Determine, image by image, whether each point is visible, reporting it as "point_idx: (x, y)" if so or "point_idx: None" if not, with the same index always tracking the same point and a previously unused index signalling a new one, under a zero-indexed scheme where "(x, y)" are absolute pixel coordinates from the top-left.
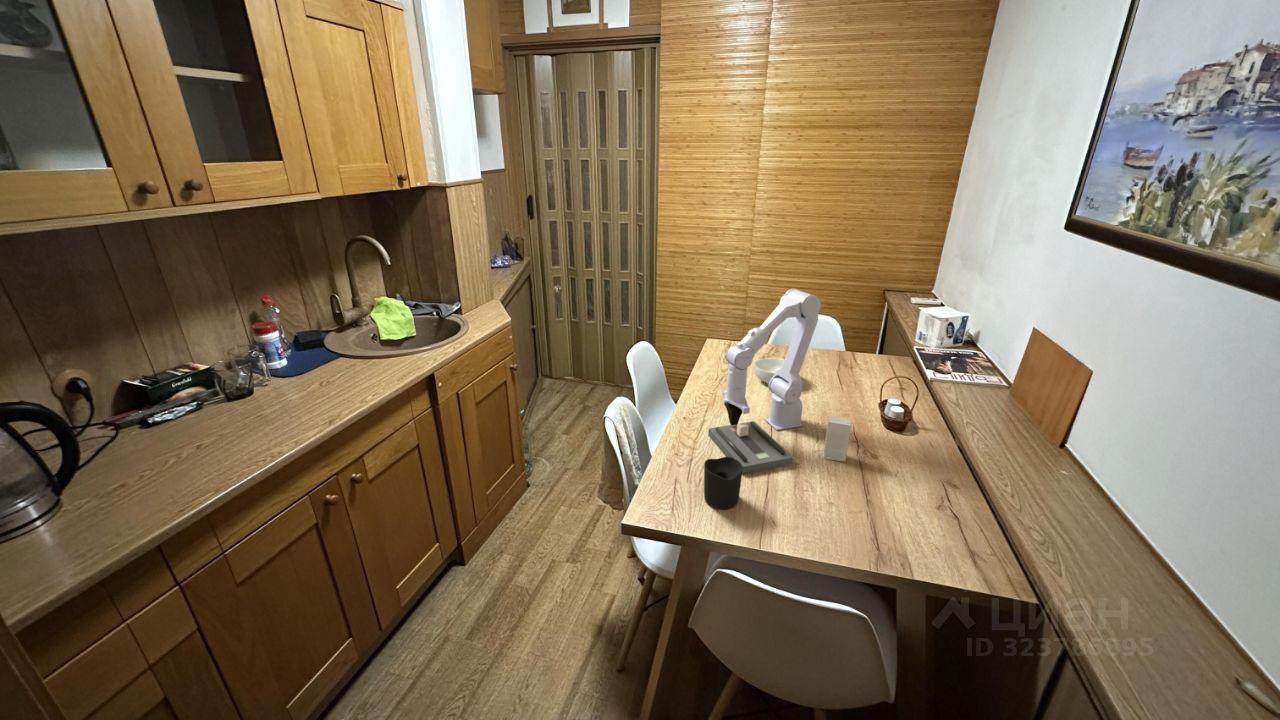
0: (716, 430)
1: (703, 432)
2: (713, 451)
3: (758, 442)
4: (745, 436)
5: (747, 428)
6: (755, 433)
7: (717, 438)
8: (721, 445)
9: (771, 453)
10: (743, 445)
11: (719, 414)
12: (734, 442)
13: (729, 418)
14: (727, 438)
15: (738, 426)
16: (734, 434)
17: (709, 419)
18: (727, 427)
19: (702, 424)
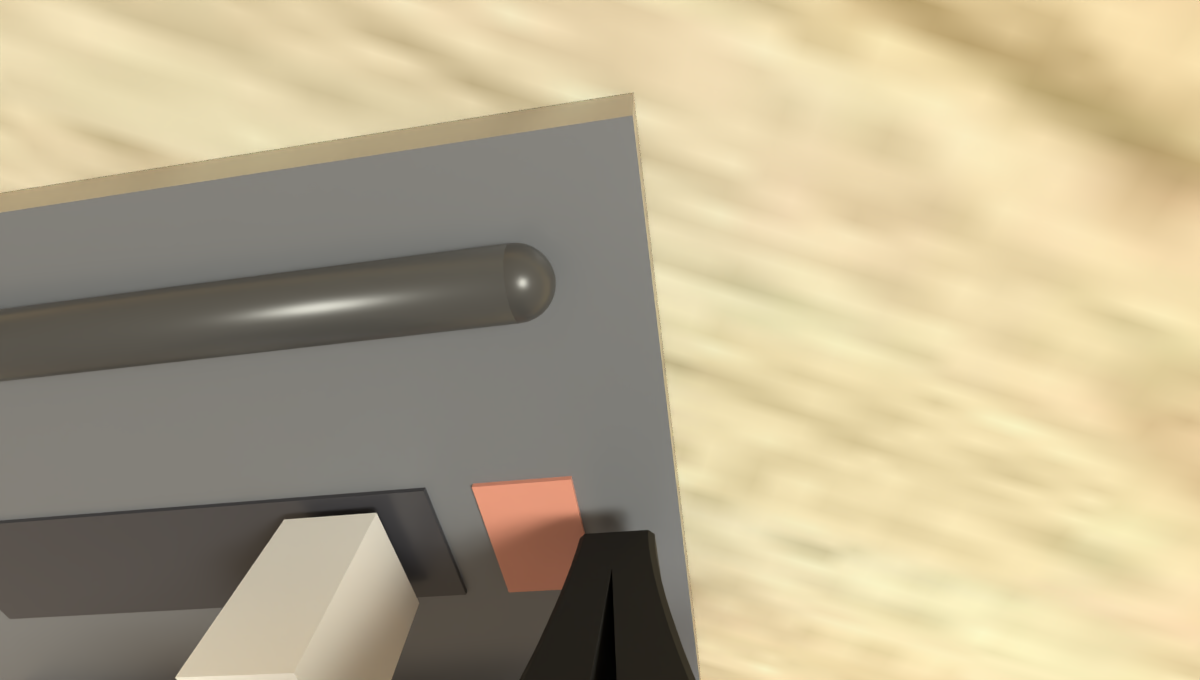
0: (468, 249)
1: (765, 28)
2: (110, 28)
3: None
4: None
5: None
6: (415, 667)
7: (214, 181)
8: (85, 192)
9: (3, 655)
10: (89, 485)
11: (1193, 452)
12: (144, 408)
13: (627, 616)
14: (68, 349)
15: (259, 652)
16: (387, 475)
17: (1151, 275)
18: (611, 453)
19: (1060, 97)
